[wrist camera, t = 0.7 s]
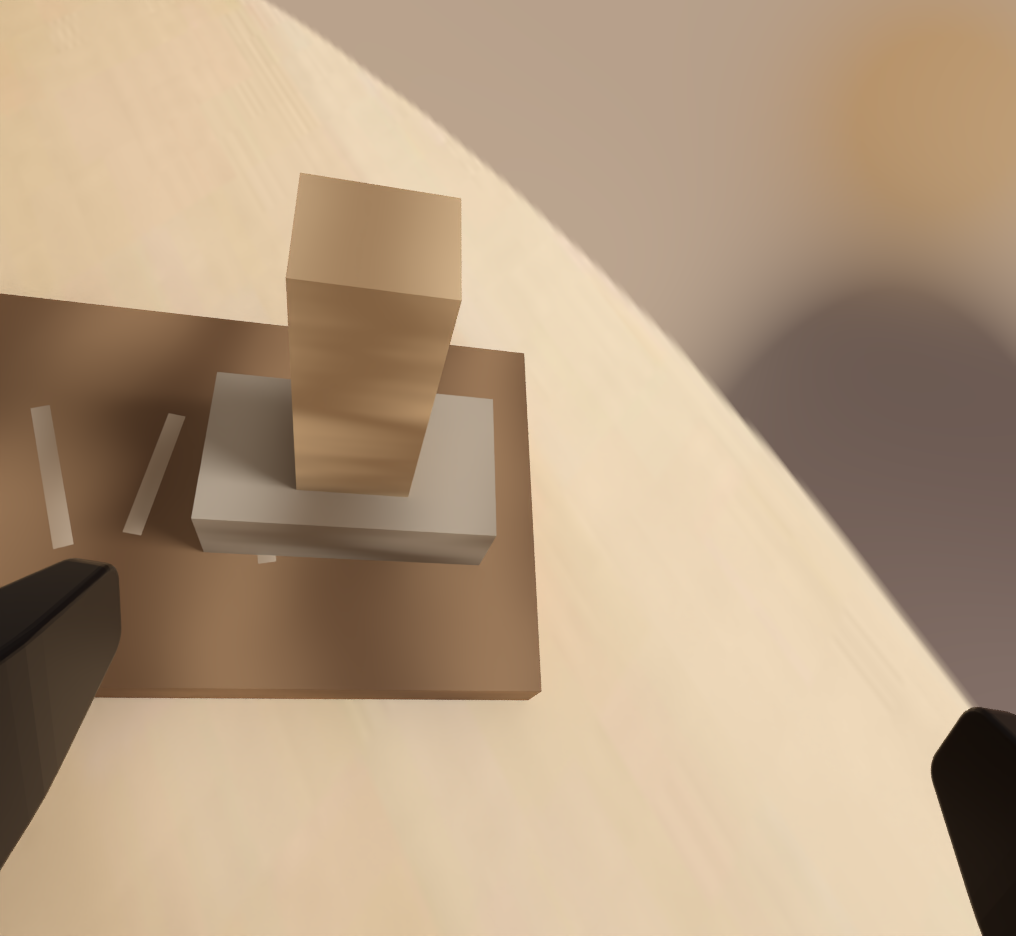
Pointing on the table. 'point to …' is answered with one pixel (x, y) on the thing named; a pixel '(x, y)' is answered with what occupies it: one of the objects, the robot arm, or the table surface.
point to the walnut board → (241, 577)
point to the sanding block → (356, 398)
